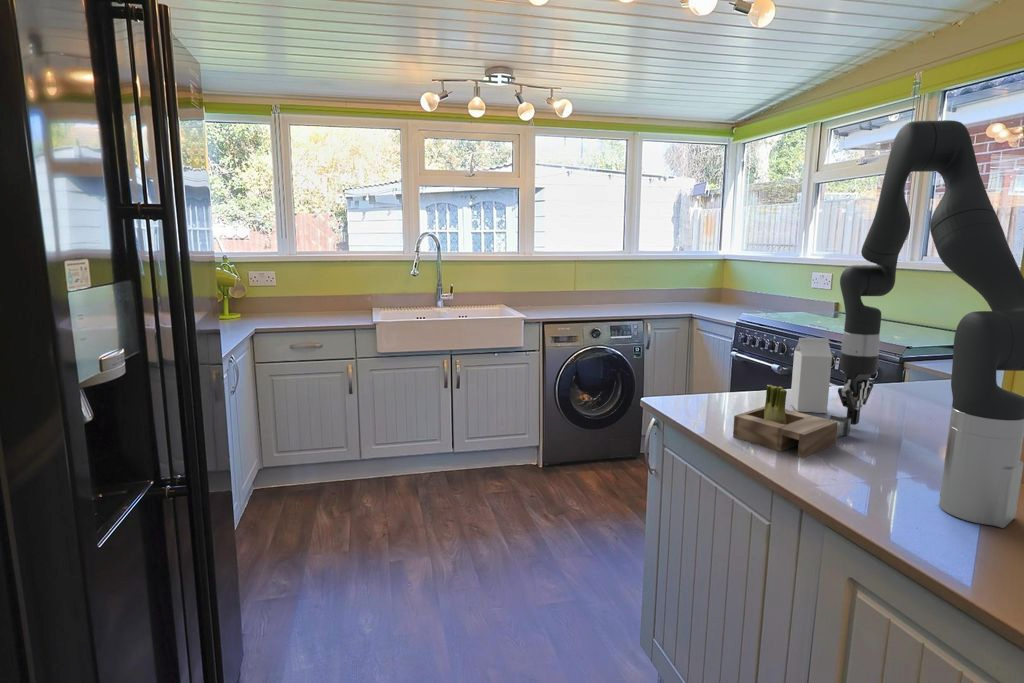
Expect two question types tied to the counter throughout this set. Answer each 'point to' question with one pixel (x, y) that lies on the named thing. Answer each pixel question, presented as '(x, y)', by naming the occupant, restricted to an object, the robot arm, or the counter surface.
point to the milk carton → (811, 375)
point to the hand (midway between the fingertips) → (852, 423)
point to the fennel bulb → (775, 404)
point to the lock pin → (841, 425)
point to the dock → (786, 431)
